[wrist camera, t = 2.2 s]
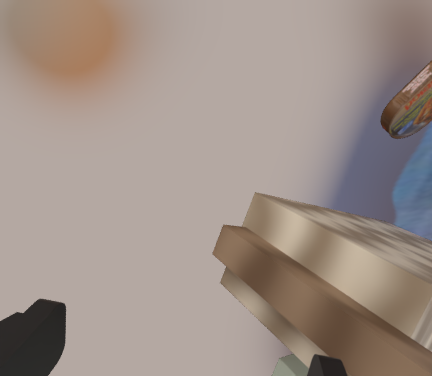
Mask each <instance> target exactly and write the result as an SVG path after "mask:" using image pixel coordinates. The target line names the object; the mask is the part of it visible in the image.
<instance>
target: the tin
mask: <svg viewBox="0 0 432 376" xmlns="http://www.w3.org/2000/svg"><path fill="white" fill-rule="evenodd" d="M430 121H432V61H431V62H430V63H429V64H428V65H426V67H424V68H423V69H422V70H421V71H420V72H419V73H418V74H417V75H416V76H415V77H414V78H413V79H412V80H411V81H410V82H409V83H408V84H407V85H406V86H405V87H404V88H403V89H402V90H401V91H400V92H399V93H398V94H397V95H396V96H395V97H394V98H393V99H392V100H391V101H390V102H389V103H388V105H387V106H386V107H385V109H384V111H383V113H382V116H381V125H382V127H383V128H384V129H385V130H386V131H387V132H388V133H389V134H390V136H391V137H392V138H395V139H401V138H405V137H408V136H411V135H413V134H414V133H416V132H418V131H419V130H421V129H422V128H423V127H425V126H426V125H427V124H428V123H429V122H430Z"/></svg>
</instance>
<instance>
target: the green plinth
mask: <svg viewBox="0 0 432 376" xmlns="http://www.w3.org/2000/svg"><path fill="white" fill-rule="evenodd" d="M308 370H309V368H308V367H307V366H306V365H305V364H304V363H303V362H302V361H301V360H300V359H299V358H298V357H297V356H295V355H294V354H291V355H288V356H285V357H282V358H279V361H278V363H277V365H276V367H275V370H274V372H273V375H272V376H307V374H308Z"/></svg>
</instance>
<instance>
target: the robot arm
mask: <svg viewBox="0 0 432 376" xmlns="http://www.w3.org/2000/svg"><path fill="white" fill-rule="evenodd" d="M65 330H66V306H65V304H64V303H61V302H56V301H51V300H46V299H39V300H37V301H36V302H35V303H34V304H33V305H31V306H30V307H29V308H28V309H27V310H26V311H25V312H24V313H19V312H17V313H15V314H13V315H11V316H9V317H7V318H5V319H3V320H2V321H0V376H48V375H49V374H50V372H51V371H52V369H53V368H54V367H55V365H56V364H57V362H58V361H59V359H60V357H61V355H62V352H63V350H64V346H65V333H66V331H65ZM307 376H347V373H346V370H345V368H344V365H343V362H342V361H341V359H339V358H334V357H329V356H323V355H318V354H314V356H313V357H312V360H311V364H310V367H309V370H308V374H307Z"/></svg>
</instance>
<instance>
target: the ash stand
mask: <svg viewBox="0 0 432 376" xmlns="http://www.w3.org/2000/svg"><path fill="white" fill-rule="evenodd" d="M242 227H246V228H248V229H249V230H251V231H252V232H254V233H255V234H257V235H258V236H260V237H261V238H263V239H264V240H266V241H267V242H269V243H270V244H272V245H273V246H275V247H276V248H278V249H279V250H280V251H282V252H283V253H285V254H286V255H288V256H289V257H291V258H292V259H294V260H295V261H297V262H298V263H300V264H301V265H303V266H304V267H306V268H307V269H309V270H310V271H312V272H313V273H315V274H316V275H318V276H319V277H321V278H322V279H324V280H325V281H327V282H328V283H330V284H331V285H333V286H334V287H336V288H337V289H339V290H340V291H342V292H343V293H345V294H346V295H348V296H349V297H351V298H352V299H354V300H355V301H356V302H358V303H359V304H361V305H362V306H364V307H365V308H367V309H368V310H370V311H371V312H373V313H374V314H376V315H377V316H379V317H380V318H382V319H383V320H385V321H386V322H388V323H389V324H391V325H392V326H394V327H395V328H397V329H398V330H400V331H401V332H403V333H404V334H406V335H407V336H409V337H410V338H412V339H413V340H415V341H416V342H418V343H419V344H421V345H422V346H424V347H425V348H427V349H428V350H430V351H431V352H432V241H430V240H428V239H425V238H423V237H421V236H418V235H416V234H414V233H411V232H409V231H407V230H404V229H402V228H400V227H397V226H395V225H393V224H390V223H388V222H386V221H382V220H377V219H373V218H368V217H364V216H359V215H354V214H350V213H345V212H341V211H337V210H332V209H328V208H323V207H319V206H315V205H310V204H305V203H301V202H297V201H292V200H288V199H283V198H279V197H274V196H270V195H265V194H260V193H256V192H255V194H254V197H253V199H252V202H251V205H250V207H249V210H248V212H247V215H246V217H245V220H244V222H243V225H242ZM221 284H222V285H223V286H224V287H225V288H226V289H227V290H228V291H229V292H230V293H231V294H232V295H233V296H234V297H235V298H236V299H238V300H239V301H240V302H241V303H242V304H243V305H244V306H245V307H246V308H247V309H248V310H249V311H250V312H251V313H252V314H253V315H254V316H255V317H256V318H257V319H258V320H259V321H260V322H261V323H262V324H263V325H264V326H266V327H267V328H268V329H269V330H270V331H271V332H272V333H273V334H274V335H275V336H276V337H277V338H278V339H279V340H280V341H281V342H282V343H283V344H284V345H285V346H286V347H287V348H288V349H289V350H290V351H291V352H292V353H293V354H294V355H295V356H297V357H298V358H299V359H300V360H301V361H302V362H303V363H304V364H305V365H306V366H307V367H308V368H309V367H310V364H311V360H312V357H313V356H314V354H318V355H323V356H328V355H327V354H326V353H325V352H324V351H322V350H321V349H320V348H319V347H318V346H317V345H316V344H314V343H313V342H312V341H311V340H310V339H309V338H308V337H306V336H305V335H304V334H303V333H302V332H301V331H300V330H298V329H297V328H296V327H295V326H294V325H293V324H292V323H290V322H289V321H288V320H287V319H286V318H285V317H284V316H282V315H281V314H280V313H279V312H278V311H277V310H276V309H274V308H273V307H272V306H271V305H270V304H269V303H268V302H266V301H265V300H264V299H263V298H262V297H261V296H260V295H259V294H257V293H256V292H255V291H254V290H253V289H252V288H251V287H249V286H248V285H247V284H246V283H245V282H244V281H243V280H241V279H240V278H239V277H238V276H237V275H236V274H235V273H233V272H232V271H231V270H230V269H229V268H228V267H227V266H226V269H225V272H224V274H223V277H222V279H221ZM346 373H347V372H346ZM347 376H351V375H350V374H349V373H347Z"/></svg>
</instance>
